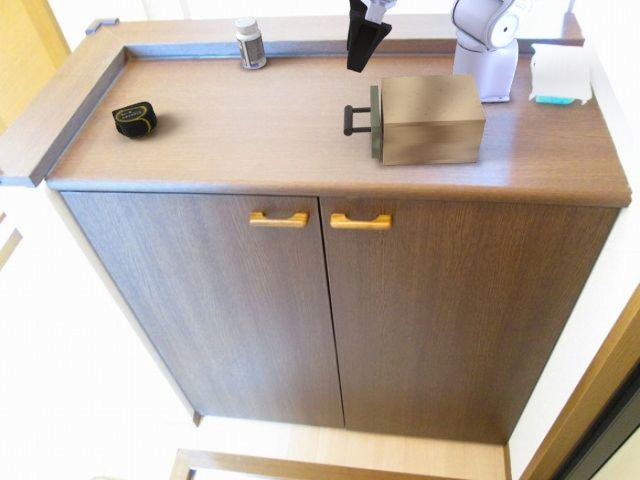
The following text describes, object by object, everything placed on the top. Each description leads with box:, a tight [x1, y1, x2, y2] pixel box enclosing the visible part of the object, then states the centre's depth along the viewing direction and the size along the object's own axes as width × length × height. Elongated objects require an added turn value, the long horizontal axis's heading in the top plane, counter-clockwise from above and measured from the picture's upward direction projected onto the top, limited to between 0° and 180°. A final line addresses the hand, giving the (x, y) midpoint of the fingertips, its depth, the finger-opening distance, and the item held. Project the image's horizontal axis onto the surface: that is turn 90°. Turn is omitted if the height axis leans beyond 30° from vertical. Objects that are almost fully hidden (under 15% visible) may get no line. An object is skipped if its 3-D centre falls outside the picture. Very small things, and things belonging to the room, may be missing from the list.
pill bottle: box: [235, 16, 267, 70], centre depth 89 cm, size 5×5×8 cm
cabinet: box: [380, 73, 487, 166], centre depth 69 cm, size 14×12×8 cm
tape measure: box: [111, 101, 158, 138], centre depth 79 cm, size 7×7×4 cm
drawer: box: [342, 84, 381, 159], centre depth 70 cm, size 17×10×6 cm, turn 87°
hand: (353, 60), depth 66 cm, fingers open, 7 cm apart
